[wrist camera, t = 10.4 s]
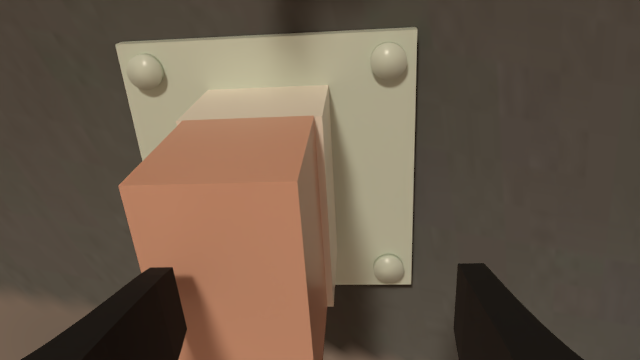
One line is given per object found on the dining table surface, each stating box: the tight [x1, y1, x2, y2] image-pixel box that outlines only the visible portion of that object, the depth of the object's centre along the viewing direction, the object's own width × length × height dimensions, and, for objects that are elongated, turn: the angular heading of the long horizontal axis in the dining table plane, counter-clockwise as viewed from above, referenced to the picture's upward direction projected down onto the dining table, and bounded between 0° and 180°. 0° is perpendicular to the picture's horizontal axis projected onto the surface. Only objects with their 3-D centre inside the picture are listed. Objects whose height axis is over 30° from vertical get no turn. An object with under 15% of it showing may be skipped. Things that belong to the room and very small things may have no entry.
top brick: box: [119, 116, 327, 360], centre depth 16 cm, size 8×4×5 cm, turn 3°
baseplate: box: [116, 27, 417, 285], centre depth 22 cm, size 12×12×1 cm
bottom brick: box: [176, 85, 337, 307], centre depth 20 cm, size 8×5×4 cm, turn 3°
